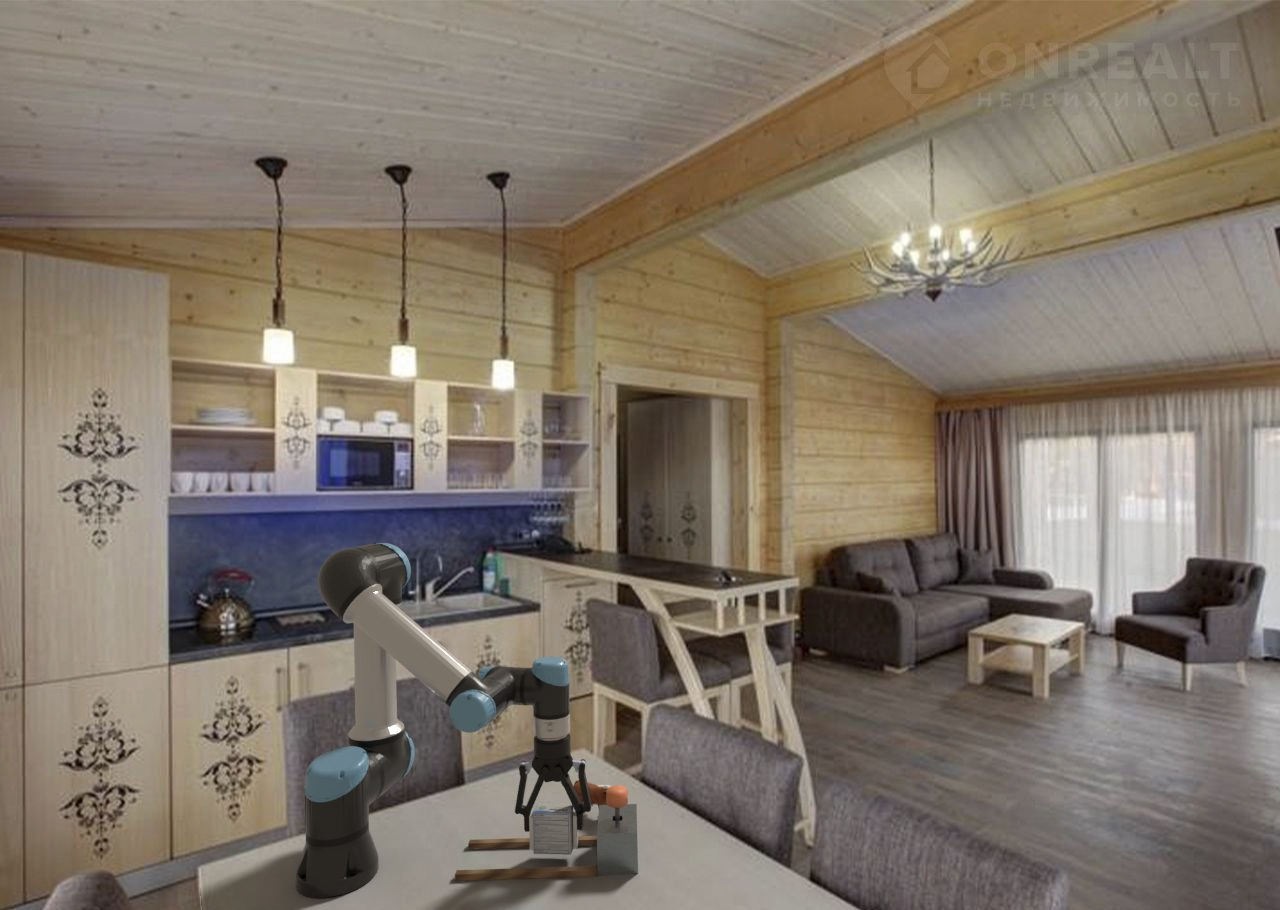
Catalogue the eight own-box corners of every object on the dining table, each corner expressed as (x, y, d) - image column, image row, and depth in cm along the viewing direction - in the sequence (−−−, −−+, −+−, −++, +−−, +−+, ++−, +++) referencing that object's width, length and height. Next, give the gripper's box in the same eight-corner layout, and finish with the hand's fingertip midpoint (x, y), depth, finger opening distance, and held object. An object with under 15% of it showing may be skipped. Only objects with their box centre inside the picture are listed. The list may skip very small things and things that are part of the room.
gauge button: (606, 827, 142) (605, 795, 142) (607, 817, 147) (606, 785, 147) (628, 827, 142) (627, 794, 142) (628, 816, 147) (627, 785, 147)
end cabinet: (597, 874, 138) (596, 833, 138) (600, 842, 150) (599, 805, 150) (638, 873, 138) (637, 832, 139) (637, 841, 150) (636, 803, 151)
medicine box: (575, 844, 146) (574, 802, 146) (571, 856, 142) (570, 812, 142) (538, 843, 147) (537, 801, 147) (532, 855, 142) (532, 811, 142)
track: (454, 880, 137) (454, 874, 137) (469, 845, 150) (469, 839, 150) (597, 876, 138) (597, 870, 138) (600, 841, 151) (600, 835, 151)
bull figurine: (614, 829, 156) (613, 792, 156) (570, 812, 164) (569, 777, 164) (626, 821, 159) (625, 784, 160) (582, 805, 168) (581, 770, 168)
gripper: (497, 743, 141) (499, 857, 140) (602, 740, 141) (604, 854, 141) (504, 729, 148) (506, 837, 148) (603, 726, 149) (605, 834, 148)
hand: (554, 845), depth 144 cm, fingers closed on medicine box, 8 cm apart
